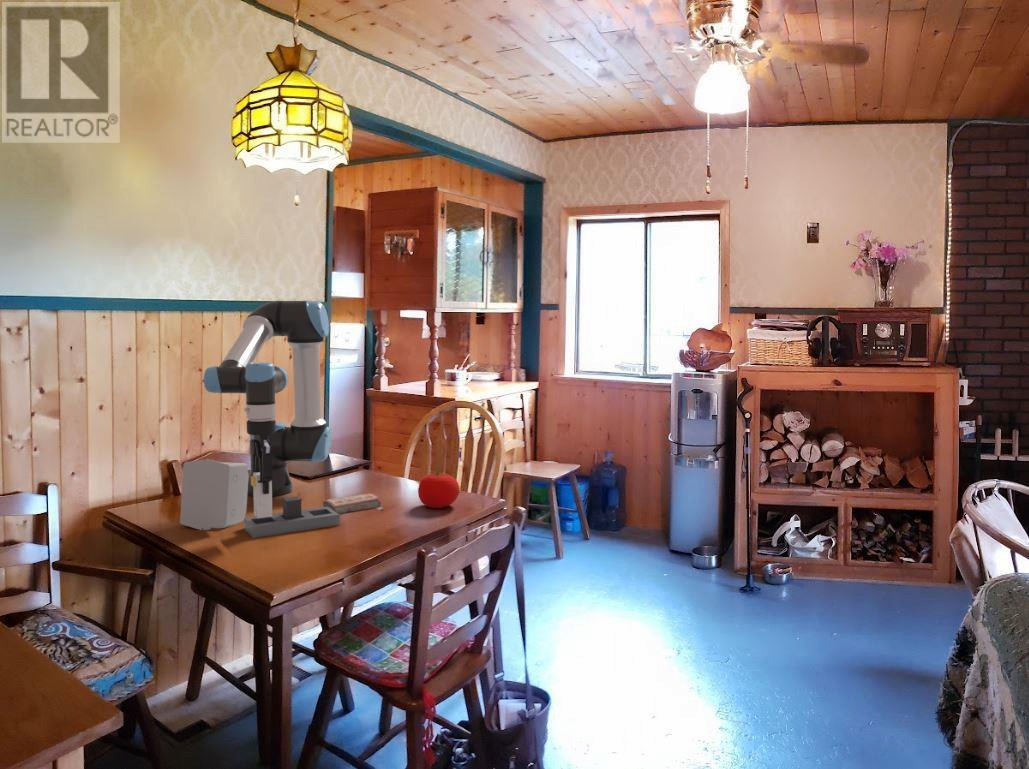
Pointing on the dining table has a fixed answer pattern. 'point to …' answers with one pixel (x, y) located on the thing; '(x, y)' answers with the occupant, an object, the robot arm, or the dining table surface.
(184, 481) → the electrical switch box
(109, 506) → the dining table surface
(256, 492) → the plug
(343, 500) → the packaged product
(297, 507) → the dark grey block
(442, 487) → the tomato
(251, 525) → the socket strip
